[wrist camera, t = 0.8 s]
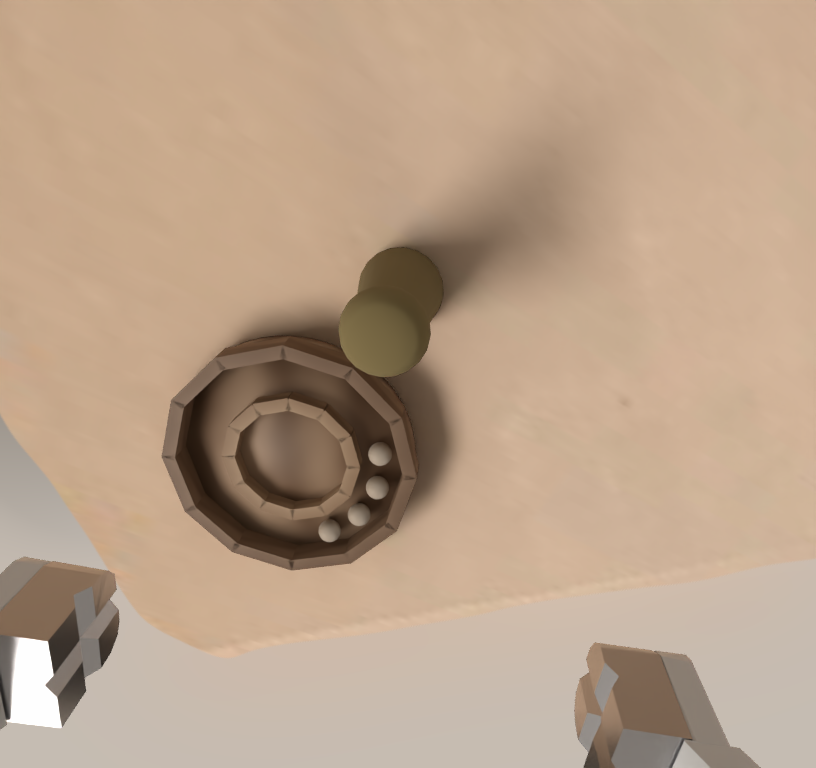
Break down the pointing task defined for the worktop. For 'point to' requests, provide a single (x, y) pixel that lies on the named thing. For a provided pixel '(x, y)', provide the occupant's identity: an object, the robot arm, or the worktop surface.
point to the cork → (391, 312)
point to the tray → (291, 453)
